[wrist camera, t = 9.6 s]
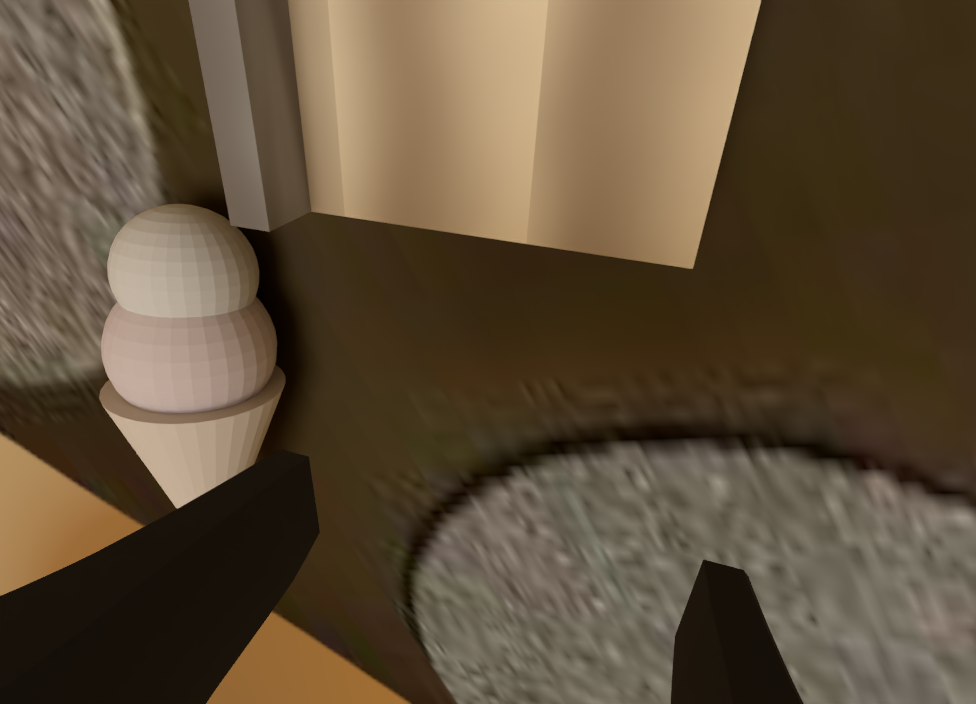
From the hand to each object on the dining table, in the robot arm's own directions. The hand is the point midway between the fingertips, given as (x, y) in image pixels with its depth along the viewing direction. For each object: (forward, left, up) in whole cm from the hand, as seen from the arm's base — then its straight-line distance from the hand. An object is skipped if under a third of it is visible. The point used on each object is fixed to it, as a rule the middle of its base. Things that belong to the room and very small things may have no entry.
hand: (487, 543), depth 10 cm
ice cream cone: (+13, +5, -10) cm, 17 cm away
